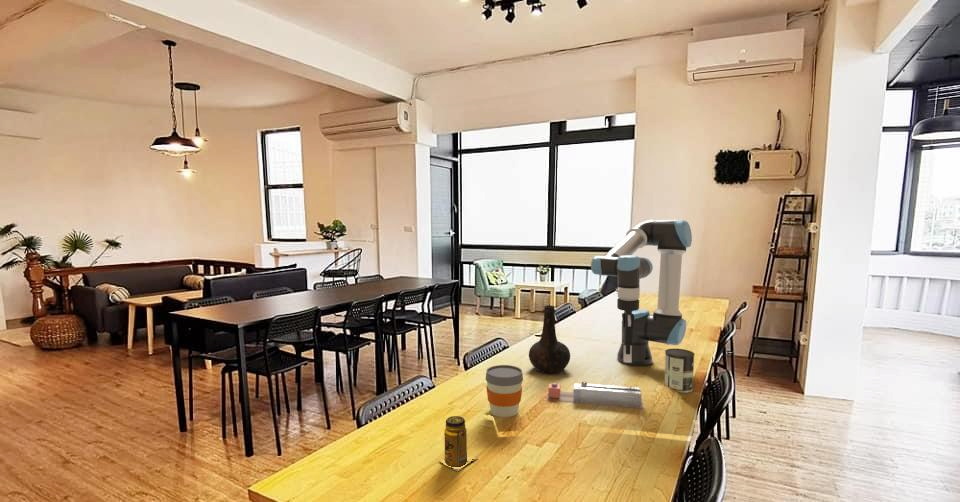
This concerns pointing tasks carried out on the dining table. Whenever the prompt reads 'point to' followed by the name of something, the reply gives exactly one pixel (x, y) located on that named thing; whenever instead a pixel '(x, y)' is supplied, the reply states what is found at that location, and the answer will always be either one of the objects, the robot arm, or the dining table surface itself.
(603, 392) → the grey long bar
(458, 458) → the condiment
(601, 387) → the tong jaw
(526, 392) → the dining table surface
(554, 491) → the dining table surface
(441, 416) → the dining table surface
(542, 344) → the dark brown vase
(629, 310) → the robot arm
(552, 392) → the tab
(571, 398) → the board
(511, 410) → the reusable coffee cup
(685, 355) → the coffee can
